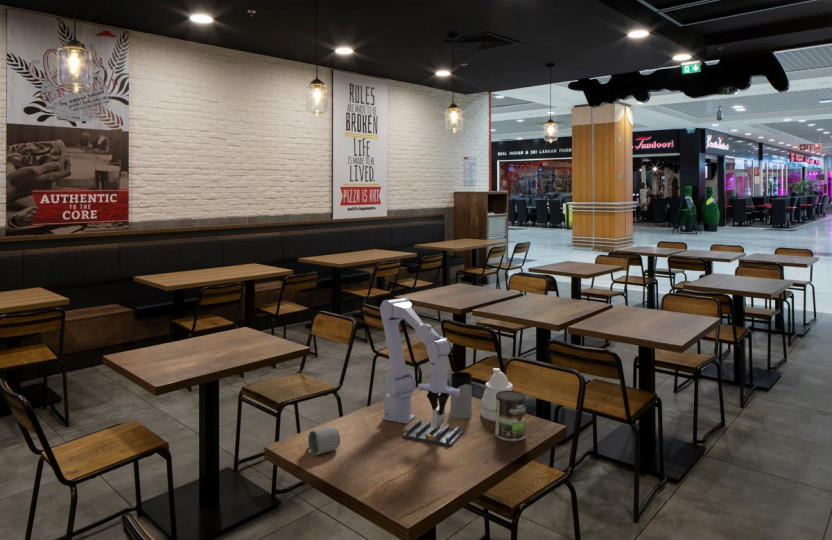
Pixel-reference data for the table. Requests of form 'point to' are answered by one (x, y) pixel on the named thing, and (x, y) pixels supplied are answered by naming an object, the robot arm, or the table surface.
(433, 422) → the panel
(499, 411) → the coffee can
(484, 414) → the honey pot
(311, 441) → the ceramic mug
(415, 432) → the rack
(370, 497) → the table surface
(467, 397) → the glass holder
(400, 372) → the robot arm
